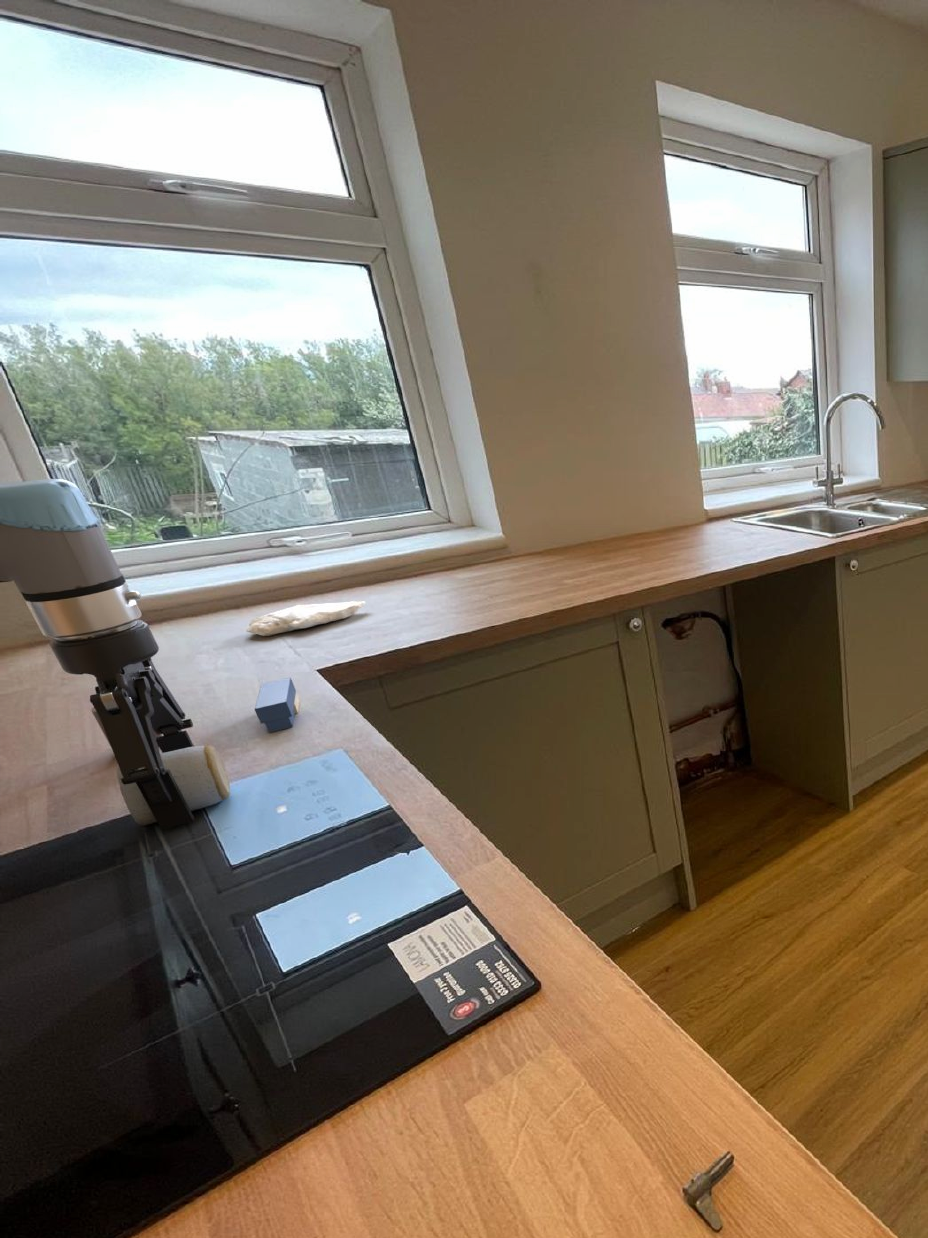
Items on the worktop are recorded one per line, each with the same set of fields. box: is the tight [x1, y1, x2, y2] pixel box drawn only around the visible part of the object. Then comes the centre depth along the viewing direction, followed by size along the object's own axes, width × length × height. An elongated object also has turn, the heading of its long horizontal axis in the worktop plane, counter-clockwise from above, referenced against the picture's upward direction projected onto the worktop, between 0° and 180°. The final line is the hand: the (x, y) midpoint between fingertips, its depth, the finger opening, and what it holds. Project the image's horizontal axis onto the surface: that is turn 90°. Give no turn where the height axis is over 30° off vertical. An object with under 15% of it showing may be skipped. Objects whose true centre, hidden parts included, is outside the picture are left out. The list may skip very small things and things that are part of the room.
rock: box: [246, 600, 366, 637], centre depth 146 cm, size 4×13×20 cm
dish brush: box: [254, 677, 301, 734], centre depth 106 cm, size 11×4×4 cm, turn 35°
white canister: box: [116, 745, 231, 826], centre depth 84 cm, size 11×8×8 cm
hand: (186, 801), depth 86 cm, fingers closed on white canister, 11 cm apart
